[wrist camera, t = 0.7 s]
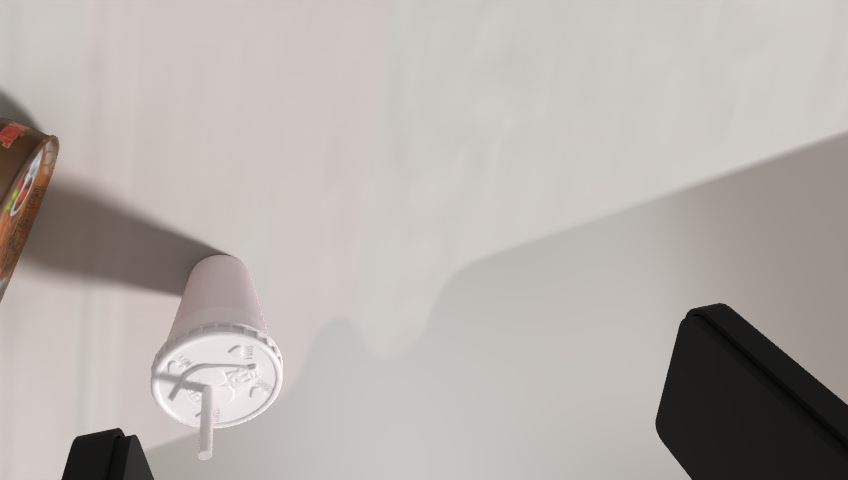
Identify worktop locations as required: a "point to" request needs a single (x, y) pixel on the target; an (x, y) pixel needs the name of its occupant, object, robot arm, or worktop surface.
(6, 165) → the tin
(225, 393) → the smoothie
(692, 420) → the robot arm
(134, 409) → the worktop surface
